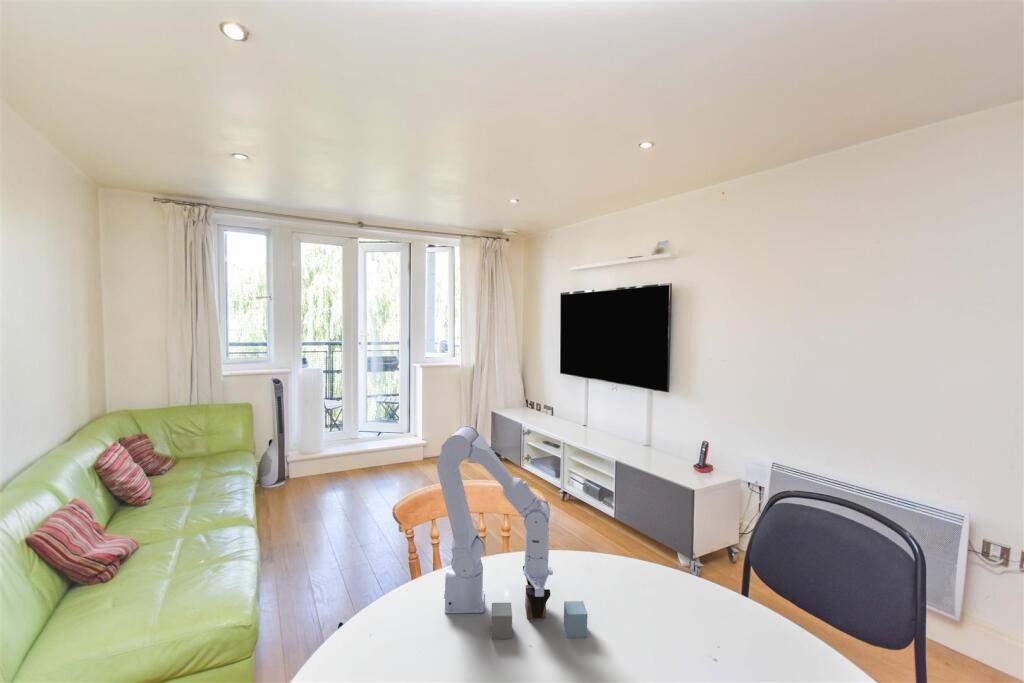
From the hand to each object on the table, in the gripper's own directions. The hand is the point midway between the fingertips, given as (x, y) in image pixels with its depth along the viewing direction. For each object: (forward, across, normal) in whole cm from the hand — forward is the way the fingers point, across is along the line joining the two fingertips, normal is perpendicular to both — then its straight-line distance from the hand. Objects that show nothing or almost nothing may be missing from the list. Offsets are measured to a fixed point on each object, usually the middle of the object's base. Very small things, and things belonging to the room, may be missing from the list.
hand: (535, 606), depth 110 cm
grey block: (+2, -6, +8) cm, 11 cm away
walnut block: (+2, 0, 0) cm, 2 cm away
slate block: (+2, -6, -8) cm, 11 cm away
